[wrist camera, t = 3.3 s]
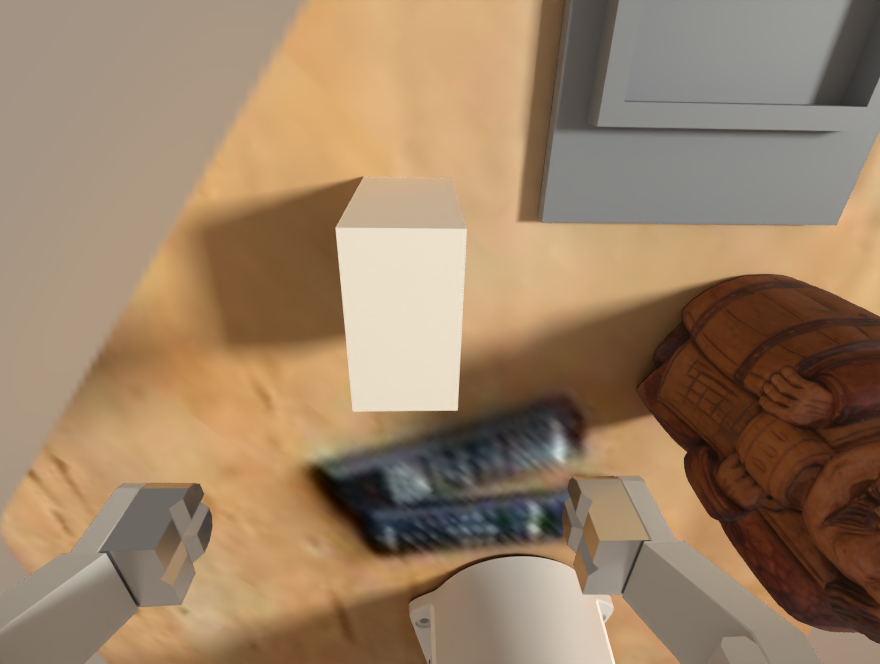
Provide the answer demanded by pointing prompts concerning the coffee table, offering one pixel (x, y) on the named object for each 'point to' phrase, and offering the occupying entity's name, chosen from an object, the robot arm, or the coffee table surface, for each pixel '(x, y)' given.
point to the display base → (711, 111)
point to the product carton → (403, 293)
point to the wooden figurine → (783, 438)
